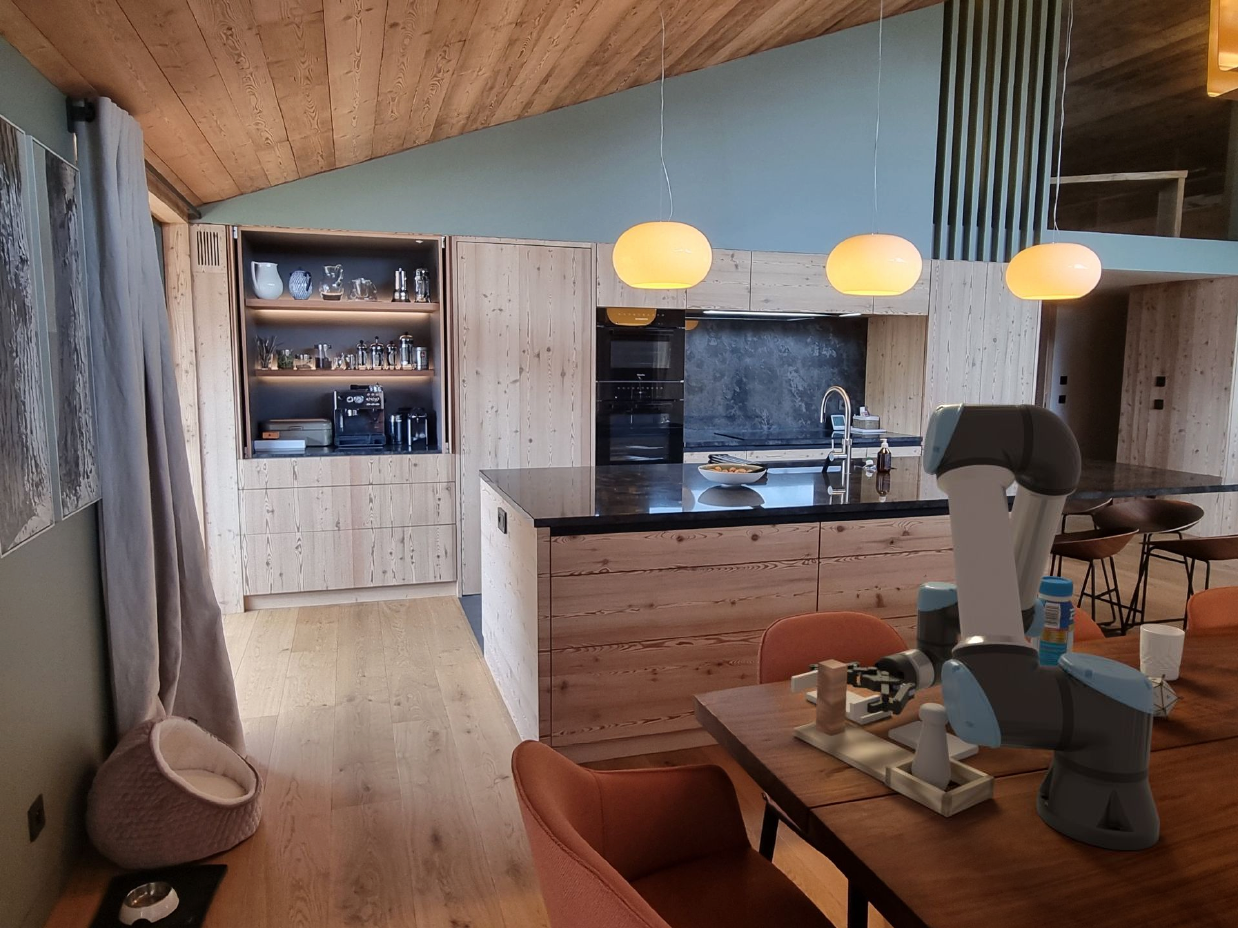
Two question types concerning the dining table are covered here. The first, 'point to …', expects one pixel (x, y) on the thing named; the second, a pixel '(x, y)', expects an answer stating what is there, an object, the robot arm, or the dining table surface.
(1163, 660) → the white cup
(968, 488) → the robot arm
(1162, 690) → the game die
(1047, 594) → the beverage bottle
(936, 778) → the salt shaker
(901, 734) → the broken strip
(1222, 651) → the dining table surface
